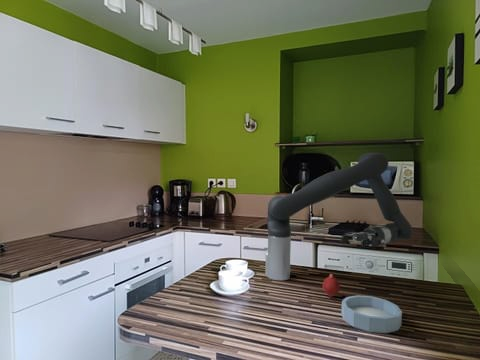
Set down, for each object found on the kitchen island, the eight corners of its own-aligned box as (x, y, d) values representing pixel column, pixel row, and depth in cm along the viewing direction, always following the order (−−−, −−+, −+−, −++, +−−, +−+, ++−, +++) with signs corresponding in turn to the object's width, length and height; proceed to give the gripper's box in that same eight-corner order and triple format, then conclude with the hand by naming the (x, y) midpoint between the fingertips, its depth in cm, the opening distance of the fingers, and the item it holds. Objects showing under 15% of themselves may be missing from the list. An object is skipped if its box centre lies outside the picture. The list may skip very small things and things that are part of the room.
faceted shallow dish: (333, 320, 96) (334, 307, 96) (352, 303, 108) (353, 291, 108) (392, 338, 86) (393, 323, 86) (405, 317, 98) (406, 304, 98)
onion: (326, 292, 118) (327, 270, 118) (342, 296, 115) (342, 274, 114) (319, 297, 114) (320, 274, 113) (335, 301, 110) (336, 278, 110)
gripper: (360, 223, 135) (335, 228, 126) (394, 229, 123) (369, 234, 114) (360, 241, 135) (335, 247, 126) (393, 248, 124) (368, 255, 114)
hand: (351, 241), depth 120 cm, fingers open, 8 cm apart
